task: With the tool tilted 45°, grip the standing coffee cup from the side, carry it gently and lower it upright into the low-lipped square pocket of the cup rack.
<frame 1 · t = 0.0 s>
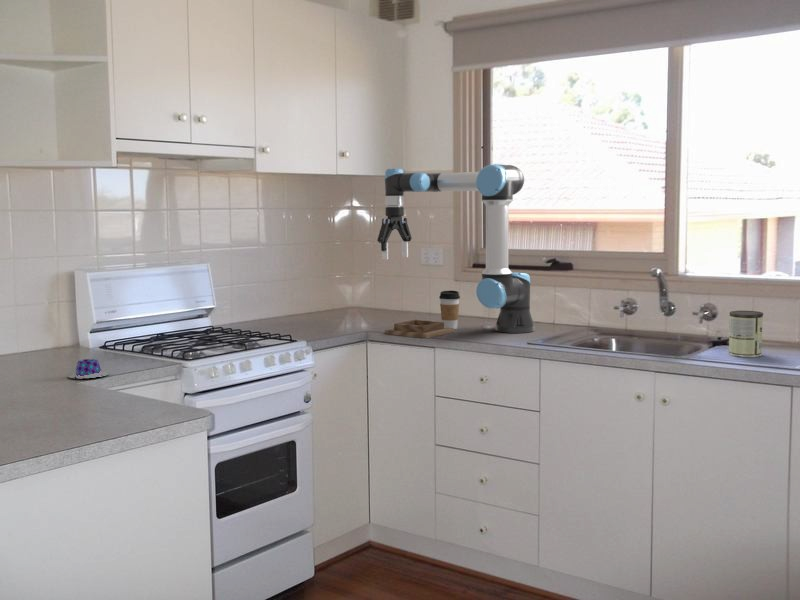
hand: (395, 258, 365), 28 cm above the table, tool pointing down, fingers open, 13 cm apart
coffee cup: (449, 328, 358), on the table
cup rack: (419, 333, 346), on the table
coffee can: (744, 355, 291), on the table
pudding: (88, 378, 267), on the table
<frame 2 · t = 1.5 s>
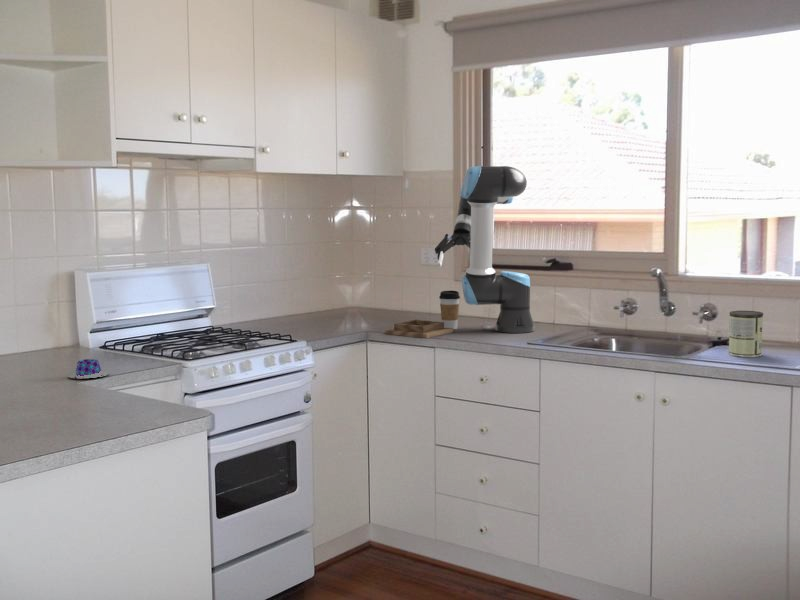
hand: (455, 265, 365), 25 cm above the table, tool tilted 45°, fingers open, 13 cm apart
nothing on the table moved.
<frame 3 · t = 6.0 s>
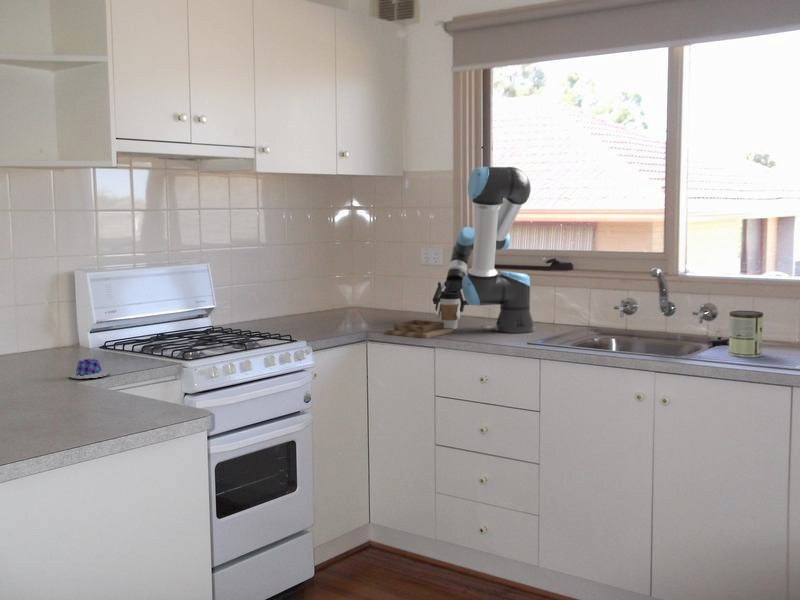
hand: (447, 316, 354), 5 cm above the table, tool tilted 45°, fingers closed on coffee cup, 8 cm apart
coffee cup: (449, 328, 358), on the table, touching gripper
everything else where it was.
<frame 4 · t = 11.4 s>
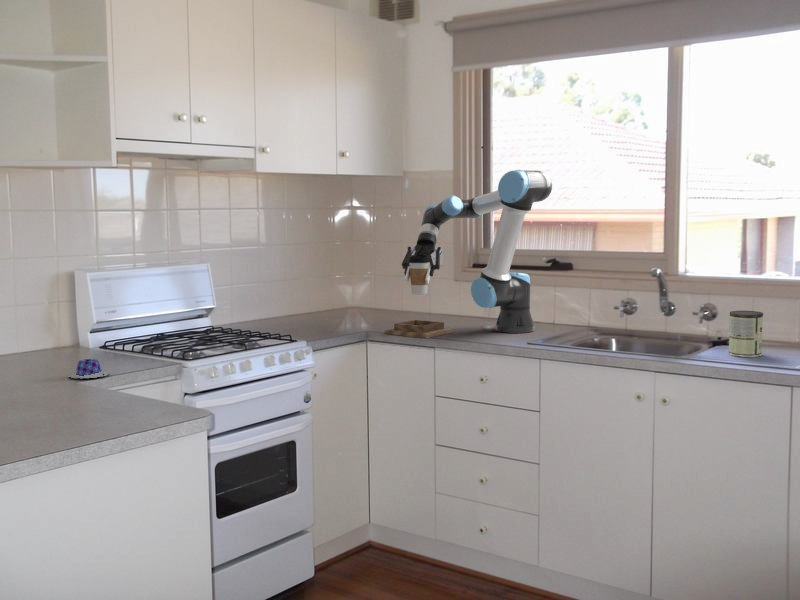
hand: (416, 281, 341), 21 cm above the table, tool tilted 45°, fingers closed on coffee cup, 8 cm apart
coffee cup: (419, 294, 345), point 15 cm above the table, touching gripper
everything else where it was.
when the fingers open (8 cm above the table, at t = 16.6 s): coffee cup moves 3 cm, point 2 cm above the table.
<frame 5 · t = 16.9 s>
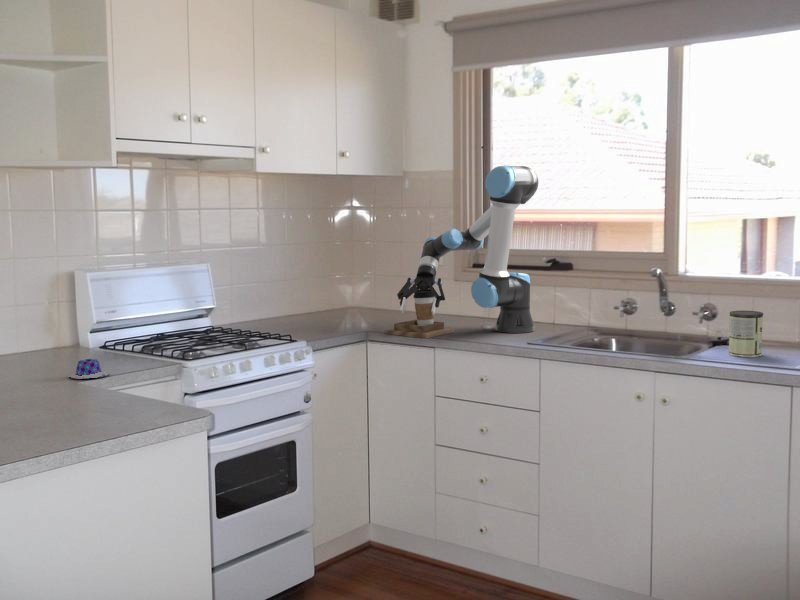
hand: (417, 312, 342), 8 cm above the table, tool tilted 45°, fingers open, 12 cm apart
coffee cup: (425, 328, 345), point 2 cm above the table, touching gripper
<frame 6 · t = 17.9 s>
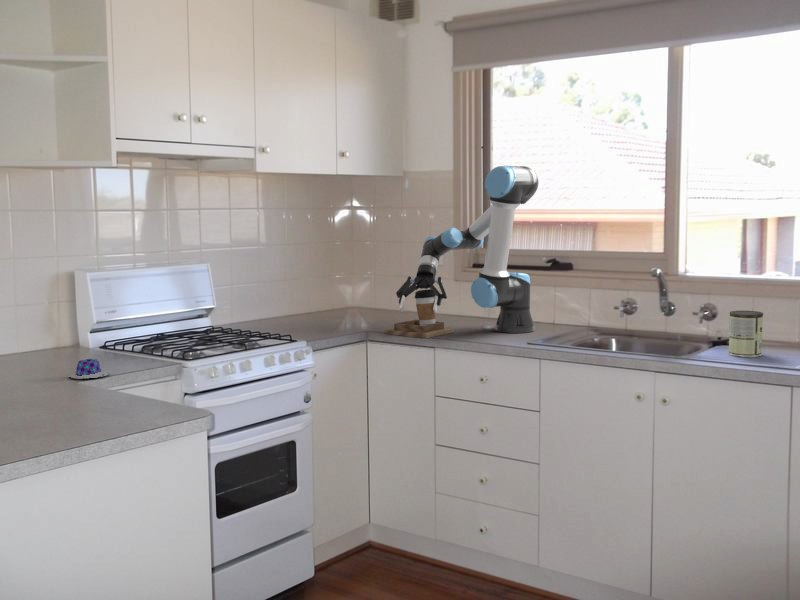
hand: (417, 311, 343), 9 cm above the table, tool tilted 45°, fingers open, 13 cm apart
coffee cup: (428, 328, 346), point 2 cm above the table, touching cup rack, gripper
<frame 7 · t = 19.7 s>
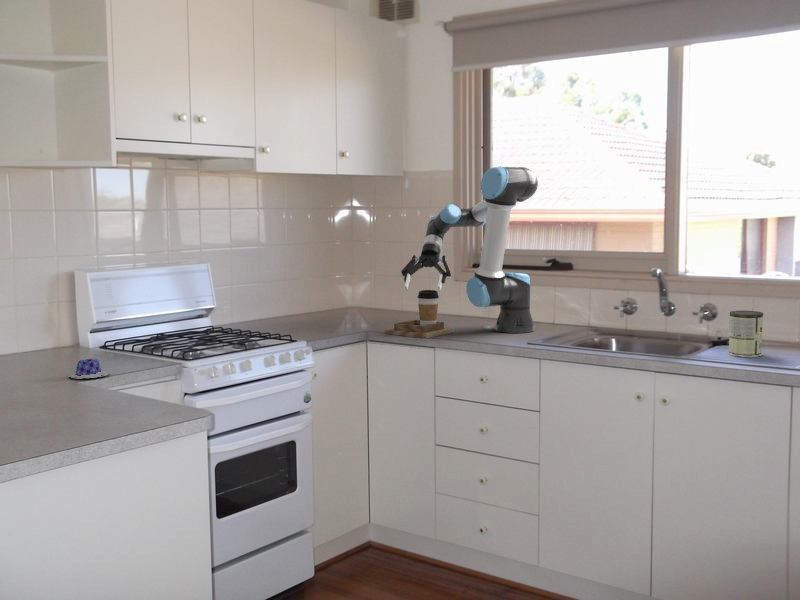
hand: (422, 288, 350), 17 cm above the table, tool tilted 45°, fingers open, 13 cm apart
coffee cup: (428, 329, 346), point 1 cm above the table, touching cup rack
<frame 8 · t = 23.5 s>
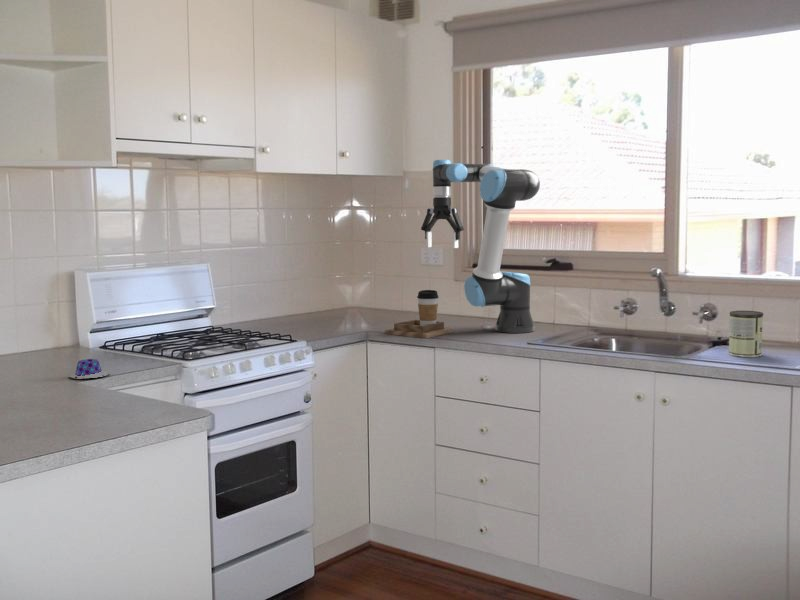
hand: (442, 247, 373), 32 cm above the table, tool pointing down, fingers open, 13 cm apart
at the end: coffee cup 3.5 cm off-centre on the cup rack, point 1.3 cm above the cup rack's base; coffee cup tilted 0°; the gripper is holding nothing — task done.
